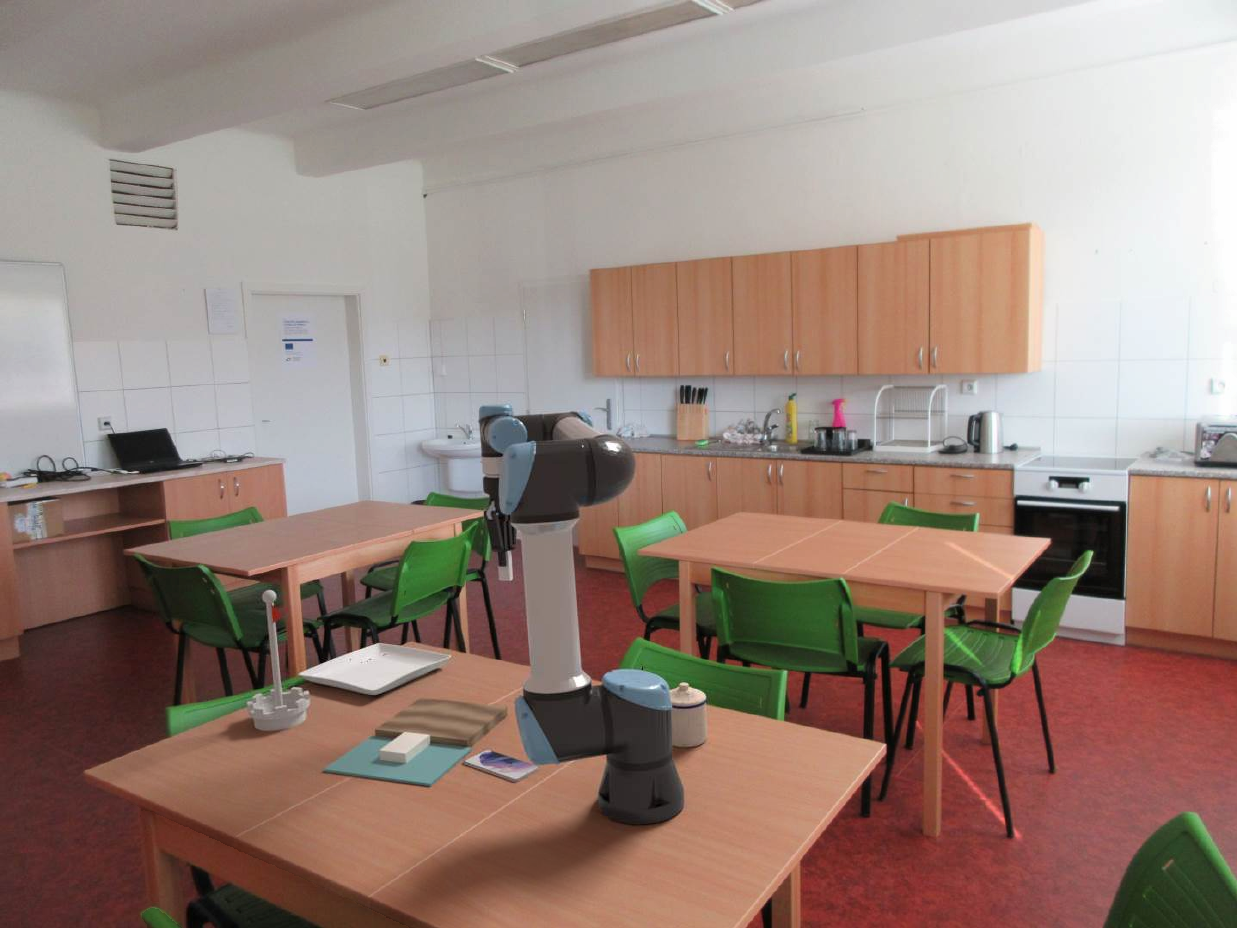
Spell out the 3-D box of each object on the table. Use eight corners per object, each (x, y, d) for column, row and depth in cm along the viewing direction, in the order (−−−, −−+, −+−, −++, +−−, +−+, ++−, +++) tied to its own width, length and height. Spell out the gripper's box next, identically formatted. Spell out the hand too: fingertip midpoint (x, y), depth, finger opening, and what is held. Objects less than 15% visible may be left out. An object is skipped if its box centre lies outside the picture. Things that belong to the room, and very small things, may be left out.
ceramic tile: (406, 763, 180) (405, 753, 180) (380, 759, 182) (379, 750, 182) (430, 744, 189) (429, 734, 189) (405, 740, 191) (404, 731, 191)
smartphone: (487, 748, 186) (541, 766, 177) (487, 752, 186) (541, 771, 177) (460, 760, 180) (515, 780, 171) (461, 765, 181) (516, 784, 171)
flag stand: (238, 723, 206) (225, 592, 202) (293, 704, 215) (281, 579, 211) (266, 737, 197) (253, 601, 193) (322, 718, 206) (310, 588, 203)
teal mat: (430, 786, 171) (430, 783, 171) (323, 771, 180) (323, 769, 179) (472, 749, 186) (472, 747, 186) (371, 737, 194) (371, 735, 194)
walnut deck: (467, 749, 187) (467, 740, 186) (375, 738, 194) (374, 729, 194) (507, 715, 203) (507, 706, 203) (421, 706, 211) (420, 697, 211)
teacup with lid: (715, 734, 189) (714, 680, 187) (694, 752, 181) (692, 695, 180) (665, 723, 195) (663, 670, 194) (642, 740, 188) (640, 685, 186)
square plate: (454, 668, 237) (453, 653, 236) (374, 705, 214) (373, 689, 213) (379, 653, 251) (378, 639, 251) (297, 686, 228) (295, 671, 228)
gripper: (497, 470, 209) (504, 571, 212) (470, 479, 197) (476, 586, 200) (527, 470, 207) (533, 573, 210) (501, 479, 194) (508, 588, 197)
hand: (505, 579), depth 205 cm, fingers closed
